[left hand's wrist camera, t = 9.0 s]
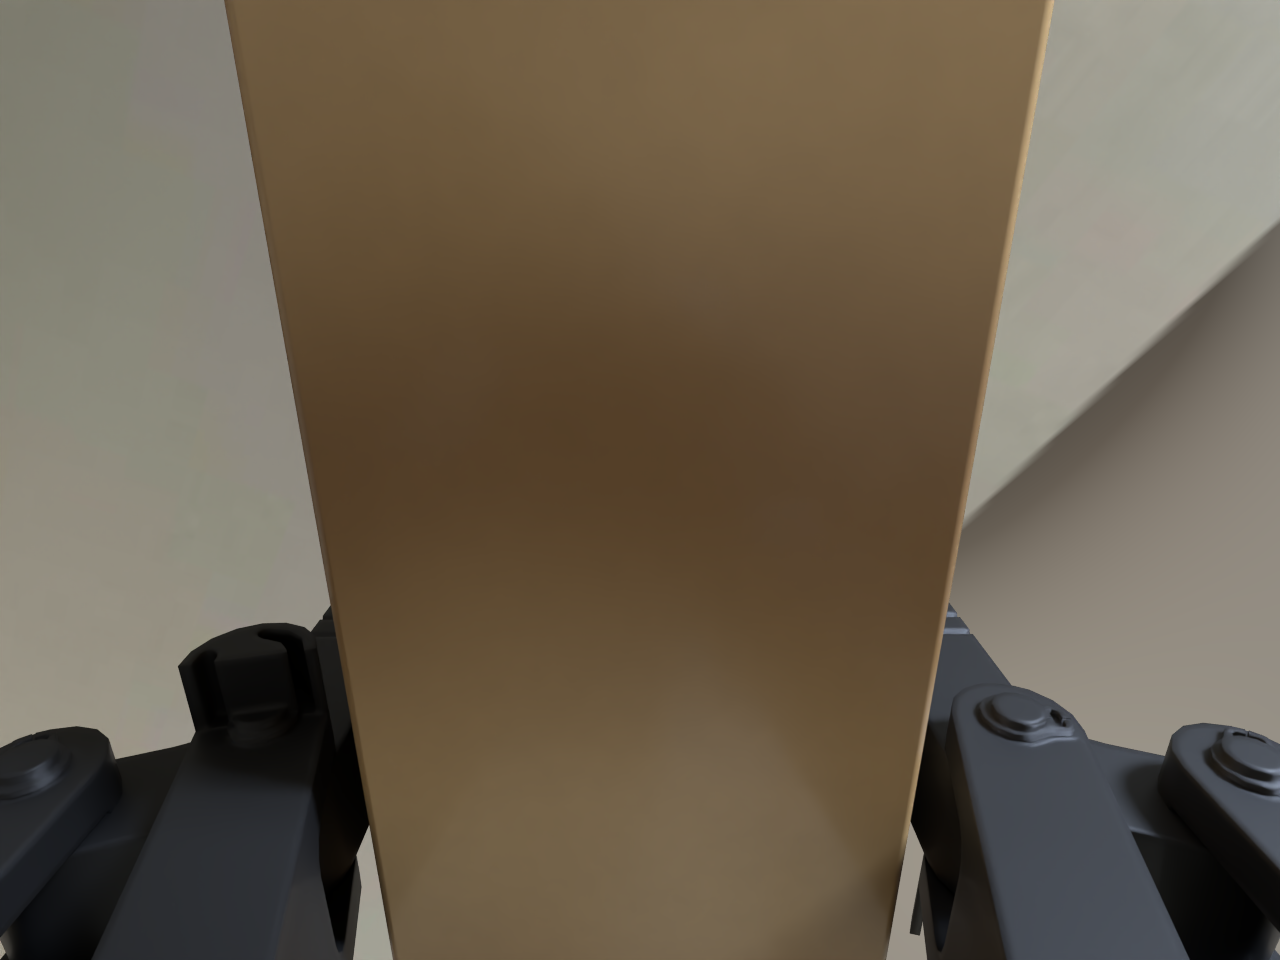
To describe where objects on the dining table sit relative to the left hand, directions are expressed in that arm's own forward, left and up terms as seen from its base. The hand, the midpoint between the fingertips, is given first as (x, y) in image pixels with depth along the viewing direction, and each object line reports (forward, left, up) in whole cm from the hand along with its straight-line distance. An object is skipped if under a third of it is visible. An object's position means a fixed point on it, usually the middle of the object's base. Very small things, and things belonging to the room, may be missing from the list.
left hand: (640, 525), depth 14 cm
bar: (+7, +4, -1) cm, 8 cm away
